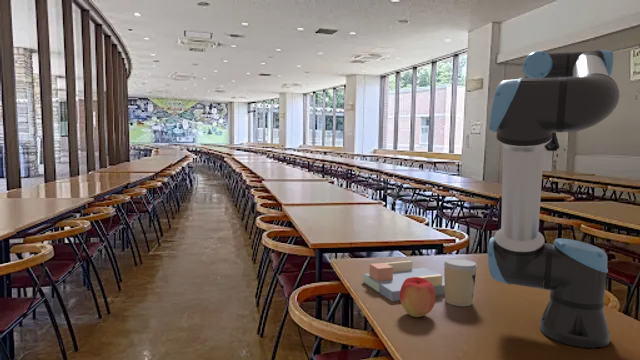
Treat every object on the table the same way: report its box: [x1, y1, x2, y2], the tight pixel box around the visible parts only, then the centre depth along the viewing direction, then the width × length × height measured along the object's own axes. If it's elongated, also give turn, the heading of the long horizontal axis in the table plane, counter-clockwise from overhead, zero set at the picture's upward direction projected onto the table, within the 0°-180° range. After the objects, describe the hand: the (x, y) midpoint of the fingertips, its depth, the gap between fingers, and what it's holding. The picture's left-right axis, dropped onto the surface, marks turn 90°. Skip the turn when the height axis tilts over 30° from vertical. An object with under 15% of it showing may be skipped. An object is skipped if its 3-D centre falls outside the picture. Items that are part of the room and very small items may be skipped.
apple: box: [400, 277, 436, 318], centre depth 120 cm, size 10×10×10 cm
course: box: [362, 260, 445, 302], centre depth 143 cm, size 18×24×6 cm
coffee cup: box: [443, 257, 478, 307], centre depth 131 cm, size 9×9×12 cm
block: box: [368, 262, 393, 281], centre depth 143 cm, size 6×6×4 cm
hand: (531, 171), depth 141 cm, fingers open, 13 cm apart
